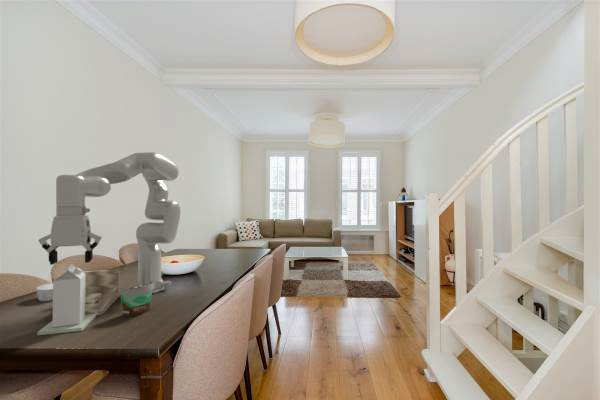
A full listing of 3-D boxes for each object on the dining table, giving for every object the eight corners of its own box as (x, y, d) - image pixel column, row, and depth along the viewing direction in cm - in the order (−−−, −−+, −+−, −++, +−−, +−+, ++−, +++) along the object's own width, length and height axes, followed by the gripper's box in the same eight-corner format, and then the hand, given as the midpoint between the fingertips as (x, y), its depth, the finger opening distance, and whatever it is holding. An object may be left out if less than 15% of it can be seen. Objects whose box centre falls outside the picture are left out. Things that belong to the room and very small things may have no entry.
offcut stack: (102, 307, 111) (102, 292, 111) (95, 314, 105) (96, 297, 105) (71, 310, 108) (71, 294, 108) (63, 317, 102) (63, 300, 102)
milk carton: (52, 328, 91) (53, 268, 91) (59, 319, 97) (60, 264, 97) (79, 324, 94) (80, 266, 94) (85, 316, 100) (85, 262, 100)
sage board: (95, 316, 102) (95, 313, 102) (81, 330, 91) (81, 327, 91) (56, 320, 99) (56, 317, 99) (37, 335, 88) (37, 332, 88)
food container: (127, 319, 100) (127, 291, 100) (118, 316, 103) (118, 288, 103) (160, 308, 110) (160, 283, 110) (151, 305, 114) (151, 280, 114)
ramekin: (50, 303, 115) (50, 290, 115) (28, 301, 117) (28, 288, 117) (76, 294, 126) (76, 282, 126) (56, 292, 128) (56, 281, 128)
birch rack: (118, 297, 123) (118, 269, 123) (101, 314, 104) (102, 281, 104) (78, 300, 118) (79, 271, 118) (54, 319, 100) (54, 284, 100)
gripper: (104, 211, 102) (105, 258, 102) (45, 211, 96) (45, 261, 97) (96, 212, 94) (97, 263, 95) (32, 212, 89) (32, 267, 89)
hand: (71, 262), depth 96 cm, fingers open, 9 cm apart
